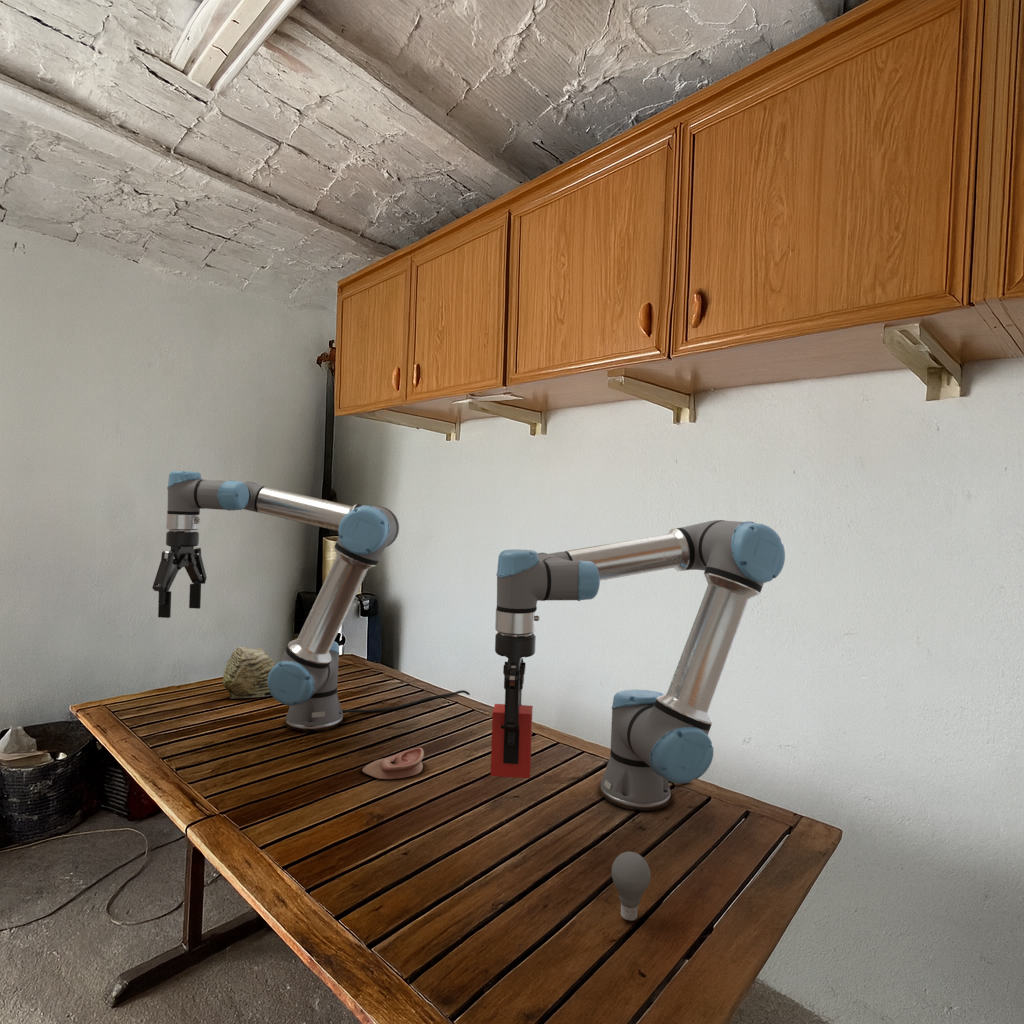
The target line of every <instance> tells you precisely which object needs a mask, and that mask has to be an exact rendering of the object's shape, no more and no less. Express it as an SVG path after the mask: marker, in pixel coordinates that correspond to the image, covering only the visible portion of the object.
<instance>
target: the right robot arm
mask: <svg viewBox="0 0 1024 1024" xmlns="http://www.w3.org/2000/svg"><path fill="white" fill-rule="evenodd" d="M785 561H786V551H785V546H784V543H782V538H781V537H780V535H779V534H778V533H777V531H776V530H775V529H773V528H772V527H771V526H768V525H766V524H764V523H757V522H754V521H748V520H747V521H738V520H737V521H736V520H724V519H715V520H708V521H705V522H700V523H694V524H691V525H686V526H681V527H677V528H671V529H670V530H669V531H668V532H667V534H662V535H654V536H649V537H643V538H637V539H630V540H625V541H619V542H612V543H607V544H600V545H599V544H598V545H593V546H588V547H581V548H576V549H575V548H574V549H569V550H564V551H557V552H551V553H547V552H538V551H535V550H532V549H517V548H515V549H504V550H502V551H500V553H499V554H498V558H497V571H496V608H495V627H494V629H495V631H496V632H497V633H496V634H495V637H494V638H495V639H494V652H495V653H496V655H498V656H500V657H505V658H507V661H504V665H503V670H502V673H503V674H502V675H504V679H503V689H504V704H505V718H504V725H501V729H504V759H503V763H509V764H518V759H519V705H523V704H522V698H523V697H522V695H523V690H524V689H523V687H524V681H525V674H526V673H525V672H526V668H527V667H526V662H525V661H524V658H530V657H532V656H534V655H535V653H536V639H537V637H536V635H535V632H536V627H537V622H539V621H540V616H539V615H537V610H538V607H537V604H538V602H539V601H541V602H546V601H577V602H580V601H587V600H593V599H595V597H597V595H598V593H599V590H600V586H601V585H600V583H601V581H606V580H612V579H617V578H625V577H630V576H635V575H641V574H647V573H653V572H658V571H664V570H669V569H674V570H675V571H677V572H685V571H695V570H696V571H704V572H703V577H704V578H705V579H704V580H705V581H706V585H707V586H706V588H705V590H704V594H703V596H702V599H701V601H700V604H699V607H698V610H697V612H696V614H695V617H694V620H693V622H692V625H691V628H690V630H689V633H688V636H687V638H686V641H685V643H684V646H683V648H682V652H681V654H680V656H679V660H678V662H677V665H676V667H675V669H674V672H673V675H672V678H671V681H670V684H669V686H668V688H667V691H666V692H665V693H662V692H660V691H655V690H648V689H623V690H619V691H617V692H616V693H615V694H614V695H613V697H612V705H611V730H610V731H611V732H610V734H611V735H610V754H609V760H608V762H607V764H606V767H605V770H604V771H603V775H602V778H601V781H600V790H599V792H600V794H601V796H602V797H603V798H604V800H606V801H608V802H609V803H610V804H612V805H615V806H616V807H617V806H618V807H620V808H623V809H626V810H631V811H637V812H649V811H650V812H651V811H657V810H661V809H663V808H666V807H667V806H668V805H669V804H670V802H671V788H670V784H678V785H679V784H680V785H683V784H689V783H692V781H694V780H698V779H699V778H701V777H702V776H703V775H704V774H705V773H706V772H707V771H708V770H709V768H710V766H711V765H712V761H713V759H714V747H713V743H712V740H711V738H710V736H709V733H710V730H711V727H712V725H713V720H712V718H711V715H710V714H709V710H710V707H711V704H712V701H713V698H714V696H715V694H716V690H717V688H718V685H719V683H720V679H721V677H722V674H723V671H724V669H725V666H726V663H727V661H728V659H729V656H730V654H731V650H732V647H733V645H734V642H735V639H736V636H737V634H738V631H739V629H740V626H741V623H742V621H743V617H744V615H745V613H746V609H747V608H748V607H747V606H748V604H749V601H750V600H752V599H754V598H756V597H758V596H761V592H762V590H763V587H764V584H766V583H768V582H769V583H770V582H772V581H773V580H774V579H776V578H777V577H778V576H779V575H780V574H781V572H782V571H783V569H784V566H785Z"/></svg>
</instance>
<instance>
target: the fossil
mask: <svg viewBox="0 0 1024 1024" xmlns="http://www.w3.org/2000/svg"><path fill="white" fill-rule="evenodd" d="M275 665H276V663H275V662H274V660H273V659H272V658H271V657H270V656H269V655H268V654H267V653H266V652H265V650H264V649H263V648H260V647H258V648H251V647H247V646H246V647H245V646H238V647H237V648H236V649H235V650H233V651H232V653H231V656H230V657H229V659H228V660H227V663H226V666H225V668H224V671H223V675H222V676H223V677H222V685H223V687H224V688H225V690H226V691H228V693H229V698H230V699H250V698H264V697H271V696H272V695H271V693H270V690H269V688H268V684H267V680H268V675H269V673H270V671H271V669H272V668H273V667H274V666H275ZM272 697H273V696H272Z"/></svg>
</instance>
